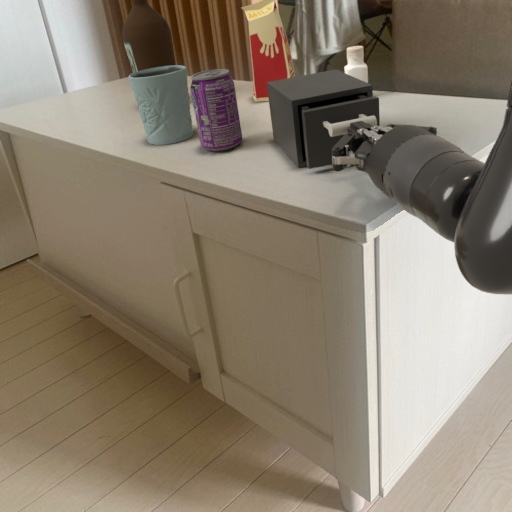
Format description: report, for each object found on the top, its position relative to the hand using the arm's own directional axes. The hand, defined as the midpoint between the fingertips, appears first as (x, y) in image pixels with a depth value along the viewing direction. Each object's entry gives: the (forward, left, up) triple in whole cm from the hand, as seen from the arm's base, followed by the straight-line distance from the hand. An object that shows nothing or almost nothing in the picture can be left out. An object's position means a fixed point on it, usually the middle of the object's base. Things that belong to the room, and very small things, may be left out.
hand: (355, 129), depth 68 cm
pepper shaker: (+17, -39, -7) cm, 43 cm away
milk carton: (+37, -40, -7) cm, 54 cm away
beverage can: (+28, -8, -7) cm, 30 cm away
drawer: (+6, -6, -6) cm, 11 cm away
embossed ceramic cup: (+42, -11, -7) cm, 44 cm away
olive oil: (+63, -32, -7) cm, 71 cm away
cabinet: (+11, -11, -7) cm, 17 cm away
